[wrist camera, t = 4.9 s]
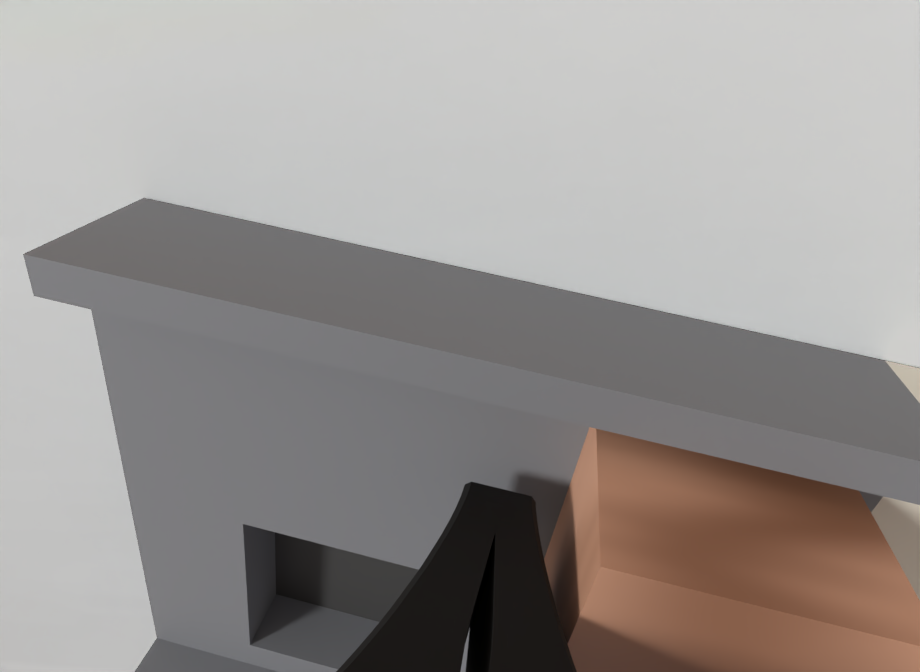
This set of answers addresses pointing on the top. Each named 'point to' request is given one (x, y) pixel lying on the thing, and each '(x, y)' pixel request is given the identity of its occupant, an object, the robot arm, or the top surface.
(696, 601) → the block
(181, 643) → the grey divided tray
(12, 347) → the top surface
